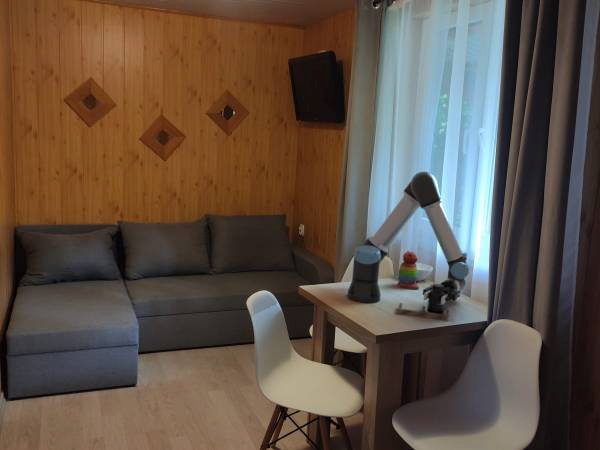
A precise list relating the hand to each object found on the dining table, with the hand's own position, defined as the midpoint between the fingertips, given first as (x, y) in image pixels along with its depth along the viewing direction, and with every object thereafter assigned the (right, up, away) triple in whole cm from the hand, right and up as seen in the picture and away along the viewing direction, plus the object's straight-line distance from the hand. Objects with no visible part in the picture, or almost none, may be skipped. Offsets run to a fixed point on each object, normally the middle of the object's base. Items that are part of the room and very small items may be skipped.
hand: (433, 299), depth 245 cm
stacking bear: (-2, 0, +50) cm, 50 cm away
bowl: (+6, +2, +66) cm, 67 cm away
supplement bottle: (+2, -7, +5) cm, 9 cm away
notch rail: (-3, -7, +6) cm, 10 cm away
